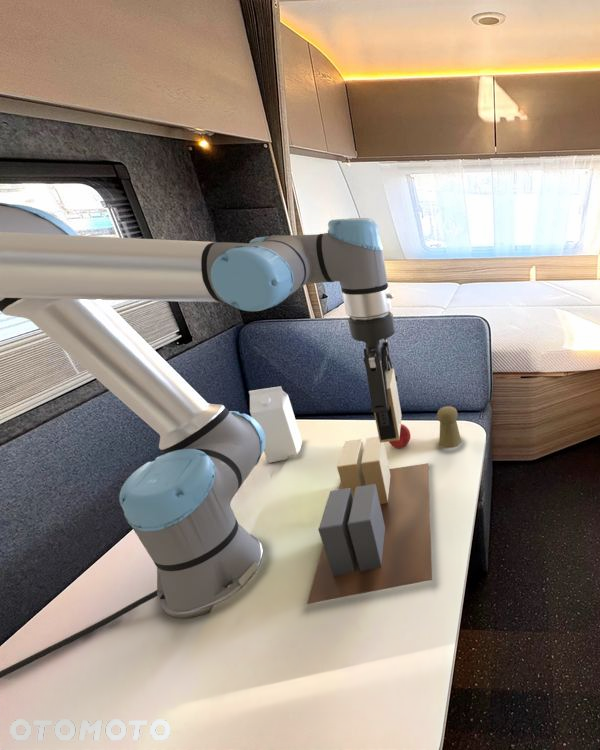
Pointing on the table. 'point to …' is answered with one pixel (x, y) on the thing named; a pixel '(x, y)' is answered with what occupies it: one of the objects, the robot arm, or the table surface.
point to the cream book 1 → (351, 465)
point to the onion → (402, 437)
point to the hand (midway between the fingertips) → (390, 424)
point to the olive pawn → (448, 427)
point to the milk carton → (276, 422)
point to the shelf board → (389, 542)
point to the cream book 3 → (376, 467)
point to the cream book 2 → (392, 405)
